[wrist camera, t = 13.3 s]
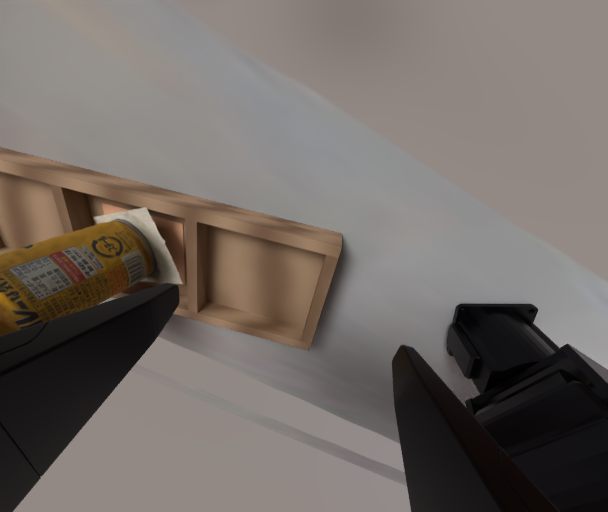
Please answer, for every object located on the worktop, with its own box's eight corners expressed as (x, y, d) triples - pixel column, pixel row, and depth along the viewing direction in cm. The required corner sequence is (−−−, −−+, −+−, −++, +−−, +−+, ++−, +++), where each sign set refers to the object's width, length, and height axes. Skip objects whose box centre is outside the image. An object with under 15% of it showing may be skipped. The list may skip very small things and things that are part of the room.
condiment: (95, 216, 22) (-145, 284, 13) (148, 206, 19) (-132, 291, 9) (133, 280, 25) (-38, 374, 16) (185, 282, 22) (3, 407, 12)
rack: (341, 233, 21) (342, 247, 18) (311, 330, 26) (308, 351, 24) (-35, 138, 22) (-87, 137, 19) (12, 250, 28) (-23, 261, 25)
